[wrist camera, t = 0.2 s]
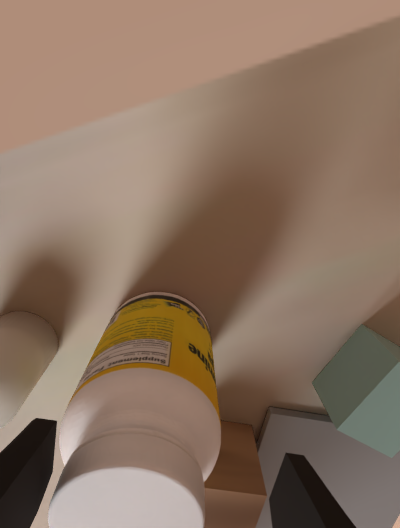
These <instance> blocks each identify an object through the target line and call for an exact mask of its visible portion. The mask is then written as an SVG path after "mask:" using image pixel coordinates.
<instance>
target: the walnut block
mask: <svg viewBox="0 0 400 528" xmlns="http://www.w3.org/2000/svg"><path fill="white" fill-rule="evenodd" d="M220 422H221V445H220V451H219V455H218V458H217V461H216V463H215V466H214V468H213V470H212V472H211V473H210V475H209V476H208V478H207V479H206V481H205V482H204V488H205V523H204V528H256V525H257V522H258V519H259V517H260V514H261V511H262V509H263V506H264V503H265V500H266V498H267V493H266V489H265V484H264V480H263V475H262V470H261V466H260V461H259V457H258V452H257V448H256V443H255V439H254V434H253V429H252V425H247V424H241V423H234V422H227V421H220Z"/></svg>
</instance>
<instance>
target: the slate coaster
mask: <svg viewBox="0 0 400 528" xmlns="http://www.w3.org/2000/svg"><path fill="white" fill-rule="evenodd" d="M256 448H257V452H258V457H259V461H260V466H261V470H262V475H263V480H264V484H265V489H266V493H267V498H266V500H265V503H264V506H263V509H262V511H261V514H260V517H259V519H258V522H257V525H256V528H272V521H271V512H270V504H269V497H270V495H271V492H272V489H273V486H274V484H275V481H276V478H277V475H278V473H279V470H280V467H281V464H282V461H283V459H284V456H285V453H292V454H299V455H304V456H305V457H306V459H307V460H308V461H309V463H310V464H311V466H312V467H313V468H314V470H315V471H316V473H317V474H318V476H319V477H320V478H321V480H322V481H323V483H324V484H325V485H326V487H327V488H328V490H329V491H330V492H331V494H332V495H333V497H334V498H335V499H336V501H337V502H338V504H339V505H340V506H341V508H342V509H343V510H344V512H345V513H346V514H347V516H348V517H349V518H350V520H351V521H352V523H353V524H354V525H355V526H356V528H392V527H393V525H394V523H395V521H396V520H397V518H398V516H399V514H400V450H399V451H398V452H397V453H396V454H395V455H394V456H393V457H392V458H390V457H389V456H387V455H385V454H383V453H381V452H379V451H377V450H375V449H373V448H371V447H369V446H367V445H365V444H363V443H361V442H359V441H358V440H356V439H354V438H352V437H350V436H348V435H346V434H344V433H342V432H340V431H338V430H337V429H336V428H335V426H334V424H333V422H332V420H331V418H330V416H326V415H319V414H313V413H306V412H300V411H293V410H287V409H280V408H274V407H269V409H268V412H267V415H266V418H265V421H264V424H263V427H262V430H261V433H260V436H259V439H258V442H257V445H256Z"/></svg>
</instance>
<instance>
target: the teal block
mask: <svg viewBox="0 0 400 528" xmlns="http://www.w3.org/2000/svg"><path fill="white" fill-rule="evenodd" d="M312 384H313V386H314V388H315V390H316V391H317V393H318V395H319V397H320V399H321V401H322V403H323V405H324V407H325V409H326V410H327V412H328V414H329V416H330V418H331V420H332V422H333V424H334V426H335V428H336V429H337V430H338V431H340V432H342V433H344V434H346V435H348V436H350V437H352V438H354V439H356V440H358V441H359V442H361V443H363V444H365V445H367V446H369V447H371V448H373V449H375V450H377V451H379V452H381V453H383V454H385V455H387V456H389V457H390V458H392V457H393V456H394V455H395V454H396V453H397V452H398V451H399V450H400V347H399V346H397V345H396V344H394V343H392V342H391V341H389V340H387V339H386V338H384V337H382V336H381V335H379V334H377V333H376V332H374V331H372V330H371V329H369V328H368V327H366V326H364V325H363V324H361V326H360V327H359V328H358V329H357V330H356V331H355V333H354V334H353V335H352V336H351V337H350V338H349V340H348V341H347V342H346V343H345V344H344V345H343V347H342V348H341V349H340V350H339V351H338V353H337V354H336V355H335V356H334V357H333V358H332V360H331V361H330V362H329V363H328V364H327V365H326V367H325V368H324V369H323V370H322V371H321V372H320V374H319V375H318V376H317V377H316V378H315V380H314V381H313V382H312Z"/></svg>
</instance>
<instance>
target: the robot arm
mask: <svg viewBox="0 0 400 528" xmlns="http://www.w3.org/2000/svg"><path fill="white" fill-rule="evenodd" d="M56 426H57V421H54V420H47V419H39V418H36V419H34V420H32V421H31V422H30V424H29V425H28V426H27V427H26V428H25V429H24V430H23V431H22V432H21V433H20V434H19V435H18V436H17V437H16V438H15V439H14V440H13V441H12V442H11V443H10V444H9V445H8V446H7V447H6V448H5V449H4V450H3V451H2V452H0V528H30V526H31V524H32V522H33V520H34V518H35V516H36V514H37V512H38V509H39V507H40V504H41V501H42V499H43V496H44V493H45V491H46V488H47V485H48V483H49V480H50V477H51V474H52V472H53V460H54V449H55V437H56ZM269 504H270V512H271V521H272V528H356V526H355V525H354V524H353V523H352V521H351V520H350V518H349V517H348V516H347V514H346V513H345V512H344V510H343V509H342V508H341V506H340V505H339V504H338V502H337V501H336V499H335V498H334V497H333V495H332V494H331V492H330V491H329V490H328V488H327V487H326V485H325V484H324V483H323V481H322V480H321V478H320V477H319V476H318V474H317V473H316V471H315V470H314V468H313V467H312V466H311V464H310V463H309V461H308V460H307V459H306V457H305V456H304V455H299V454H292V453H285V456H284V459H283V461H282V464H281V467H280V470H279V473H278V475H277V478H276V481H275V484H274V486H273V489H272V492H271V495H270V497H269Z"/></svg>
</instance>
